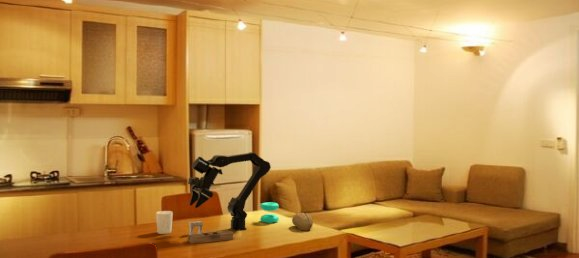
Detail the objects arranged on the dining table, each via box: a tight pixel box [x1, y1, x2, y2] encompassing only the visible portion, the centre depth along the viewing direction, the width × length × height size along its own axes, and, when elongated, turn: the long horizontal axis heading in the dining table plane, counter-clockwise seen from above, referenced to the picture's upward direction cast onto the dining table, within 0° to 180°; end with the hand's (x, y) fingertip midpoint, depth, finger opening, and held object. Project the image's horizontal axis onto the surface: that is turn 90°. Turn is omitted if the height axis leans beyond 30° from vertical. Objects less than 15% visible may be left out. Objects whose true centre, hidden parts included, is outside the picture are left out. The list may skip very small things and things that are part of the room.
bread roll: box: [291, 212, 314, 232], centre depth 263 cm, size 10×15×8 cm, turn 23°
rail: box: [187, 230, 234, 245], centre depth 236 cm, size 6×20×3 cm, turn 117°
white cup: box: [155, 210, 174, 235], centre depth 251 cm, size 8×8×10 cm
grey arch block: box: [188, 220, 204, 234], centre depth 248 cm, size 2×6×6 cm, turn 117°
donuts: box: [260, 201, 280, 224], centre depth 278 cm, size 10×10×10 cm
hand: (193, 206), depth 247 cm, fingers open, 9 cm apart
